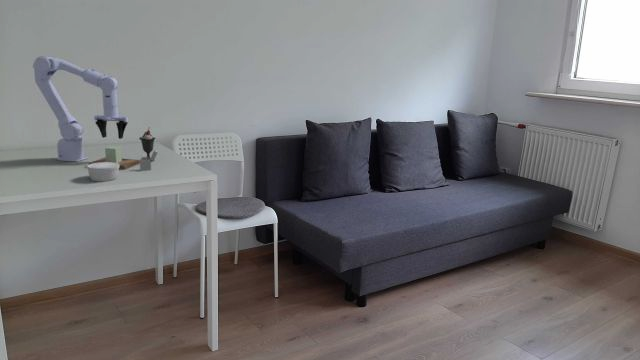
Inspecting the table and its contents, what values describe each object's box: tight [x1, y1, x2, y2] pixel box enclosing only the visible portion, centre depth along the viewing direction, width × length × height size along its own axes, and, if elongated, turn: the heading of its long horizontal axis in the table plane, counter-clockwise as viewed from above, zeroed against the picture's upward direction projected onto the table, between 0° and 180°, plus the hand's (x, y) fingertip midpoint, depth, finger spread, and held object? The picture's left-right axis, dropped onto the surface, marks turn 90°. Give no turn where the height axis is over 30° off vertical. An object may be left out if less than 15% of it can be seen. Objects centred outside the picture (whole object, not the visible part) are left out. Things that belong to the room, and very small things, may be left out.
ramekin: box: [86, 162, 120, 182], centre depth 188 cm, size 11×11×5 cm
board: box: [87, 156, 140, 170], centre depth 210 cm, size 16×12×2 cm
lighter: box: [139, 149, 159, 171], centre depth 204 cm, size 7×2×8 cm, turn 110°
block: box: [104, 145, 123, 163], centre depth 209 cm, size 4×4×6 cm
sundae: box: [138, 126, 156, 163], centre depth 219 cm, size 7×7×15 cm
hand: (112, 137), depth 216 cm, fingers open, 7 cm apart
